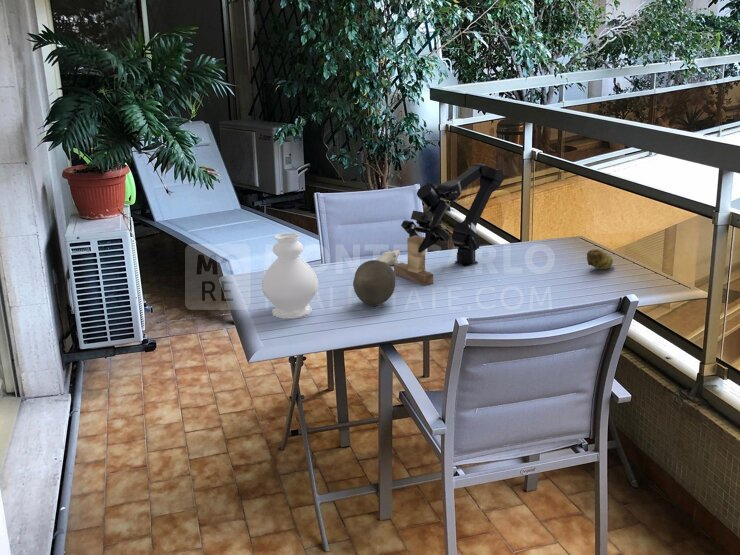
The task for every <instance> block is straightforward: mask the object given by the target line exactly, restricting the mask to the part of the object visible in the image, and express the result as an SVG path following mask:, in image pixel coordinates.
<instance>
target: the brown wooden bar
mask: <svg viewBox="0 0 740 555" xmlns="http://www.w3.org/2000/svg"><path fill="white" fill-rule="evenodd" d="M393 271H394V273H395V276H396V275H397V276H399V277H402V278H404V279H407V280H409V281H411V282H414V283H417V284H419V285H422V286H428V285H432V284H434V273H432V272H429V271H427V270H424V271H421V272H418V273H415V272H411V271H408V263H406V262H398V264H394V265H393Z"/></svg>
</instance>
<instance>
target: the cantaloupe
mask: <svg viewBox="0 0 740 555" xmlns="http://www.w3.org/2000/svg"><path fill="white" fill-rule="evenodd" d="M396 279H397V278H396V274H395V273H394V268H392V265H388V264H387V263H385V262H382V261H378V260H376V259H372V260H367V261H365V262H363V263H361V264H360V265H359V266H358V267H357V269H356V271H355V273H354V276H353V282H352V285H353V291H354V293H355V296H356V298H358V300H360V301H361V302H362V303H364V305H367V306H372V307H377V306H380V305H382V304H383V303H385V302H387V301H389V299H390V298H391V297H392V295H393V294H394V293H395V292H394V291H395V288H396V283H397V282H396V281H397V280H396Z"/></svg>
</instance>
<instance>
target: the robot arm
mask: <svg viewBox="0 0 740 555" xmlns="http://www.w3.org/2000/svg"><path fill="white" fill-rule="evenodd" d="M504 179H505V175H504V172H503V170H501V169H497V168H492V167H490V166H488V165H486V164H483V163H477V162H476V163H473V164H472V166H471V167H470V168H468V169H466V170H465V171H464V172H463V173H461V174H460V175H458V176H456V178H454V179H452V180H447V181H444V182H442V183H440V184H439V185H437V187H435V185H434V184H433V183H432V182H426V184H425V185H422V186H421V187H420V188H418V189H417V191H416V195H417V196H416V197H418V199H419V200H420V201H421V203H422V204H424V206H425V207H427V208H428V209H427V210H423V212H422V211H418V210H412V213H411V216H410V220H407V219H405V220H403V221H402V223H401V225H400V226H401V227H402V228H403V230H404V232H406V233H407V234H408V238H409V237H412V236H420V235H419V233H421V234H424V237H425V238H424V240H423V242H422V244H421V246H420V248H419V250H418V252H419V253H421V252H422V251H424V250H425V251H426V250H427V249H428V248H430V247H432V246H433V245H435V244H437V243H440V242H443V243H448V241H449V239H450V234H449V232H447V231H446V229H445V228H444V227H441V226H438V225H441V224H442V223H443V222H442V220H441V219H442V218H443V216H444V215H445V213H446V212H451V211H452V210H451V206H450V205H451V204H450V203H447V202H455V201H456V200H457V199H459V197H460V196H461V194H462V191H464V189H465V188H467V187H468V186H470V185H471V184H472V183H474V182H475V181H476V180H478V182H479V188H478V190H477V193H476V195H475V196H474V199H473V201H472V203H471V206H470V207H469V209H468V211H467V213H466V215H465V218H464V219H463V220H462V222H460V221H458V222H456V223H455V225H454V228H453V230H451V231H452V233H451V240H452V242H453V246H454V248H457V252H456V260H455V261H454V263H455V264H458V265H461V266H462V267H463V266H464V267H469V266H472V265H477V264H478V263H479V261H476V251H477V250H478V249H480V245H481V242H480V241H479V240H478V239H477V235H478V232H477V225H478V222H480V219H481V217H482V214H483V212H484V210H485V208H486V206H487V204H488V202H489V200H490V197H491V195H492V193H494V192H495V191H496V190H498V189H499V188H500V187H501V185H502V183H503V182H504ZM446 201H447V202H446ZM414 221H415V222H416V223H415V222H414ZM407 250H408V247H407Z"/></svg>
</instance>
